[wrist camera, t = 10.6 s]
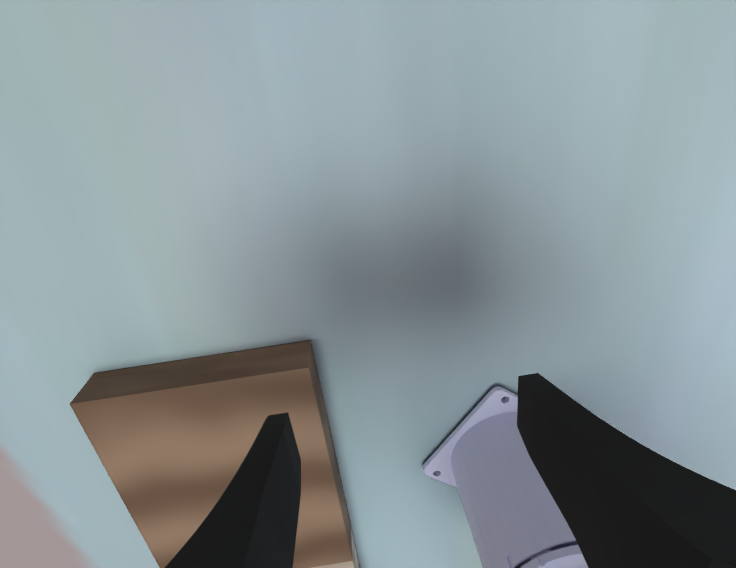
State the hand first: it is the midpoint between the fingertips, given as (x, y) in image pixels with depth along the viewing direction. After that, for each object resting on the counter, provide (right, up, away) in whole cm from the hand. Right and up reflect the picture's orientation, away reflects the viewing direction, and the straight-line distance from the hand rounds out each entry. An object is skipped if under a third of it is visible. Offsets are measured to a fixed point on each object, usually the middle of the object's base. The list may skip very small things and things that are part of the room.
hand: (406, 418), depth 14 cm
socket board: (-9, -10, +16) cm, 21 cm away
